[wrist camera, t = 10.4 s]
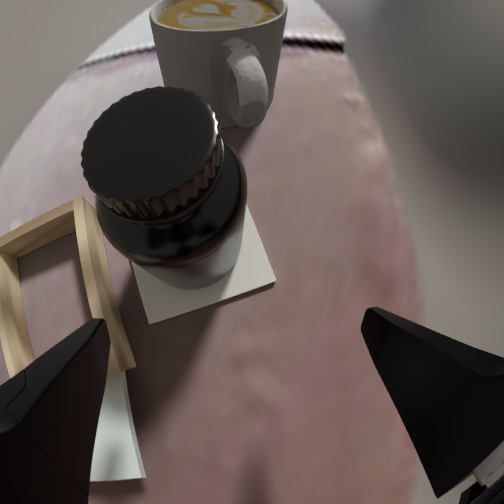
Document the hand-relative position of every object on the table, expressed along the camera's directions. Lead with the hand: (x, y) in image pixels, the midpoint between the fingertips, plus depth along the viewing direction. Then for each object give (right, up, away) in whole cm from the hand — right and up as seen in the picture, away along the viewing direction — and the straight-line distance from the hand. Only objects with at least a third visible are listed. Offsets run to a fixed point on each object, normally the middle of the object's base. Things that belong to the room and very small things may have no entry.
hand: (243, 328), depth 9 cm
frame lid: (-11, -10, +7) cm, 16 cm away
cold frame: (-14, -1, +9) cm, 17 cm away
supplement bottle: (-4, +3, +11) cm, 12 cm away
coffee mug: (-2, +16, +15) cm, 22 cm away
